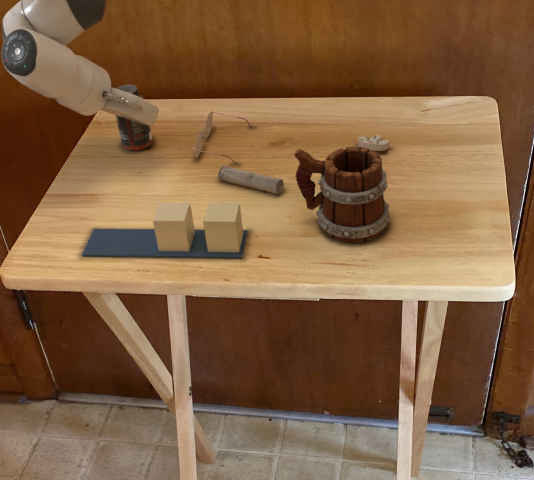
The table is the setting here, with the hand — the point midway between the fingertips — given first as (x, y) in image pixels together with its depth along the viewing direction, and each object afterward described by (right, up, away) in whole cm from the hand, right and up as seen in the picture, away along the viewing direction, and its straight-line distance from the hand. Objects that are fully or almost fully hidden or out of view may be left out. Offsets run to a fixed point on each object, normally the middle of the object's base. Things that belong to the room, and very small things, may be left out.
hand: (134, 114), depth 152 cm
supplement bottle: (0, -5, +4) cm, 6 cm away
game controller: (+43, -9, -6) cm, 44 cm away
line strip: (+8, -26, -21) cm, 35 cm away
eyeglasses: (+17, -6, +1) cm, 18 cm away
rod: (+22, -15, -10) cm, 29 cm away
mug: (+37, -23, -20) cm, 48 cm away
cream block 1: (+10, -26, -21) cm, 35 cm away
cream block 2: (+18, -26, -22) cm, 39 cm away
